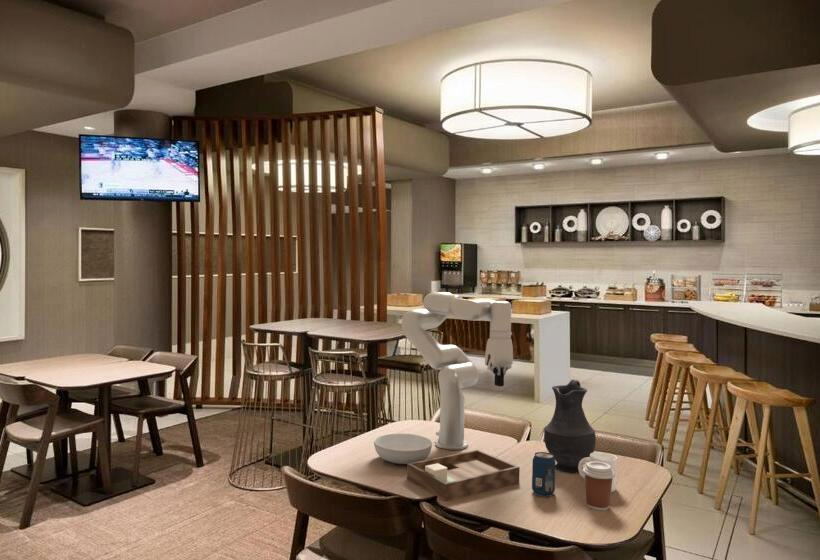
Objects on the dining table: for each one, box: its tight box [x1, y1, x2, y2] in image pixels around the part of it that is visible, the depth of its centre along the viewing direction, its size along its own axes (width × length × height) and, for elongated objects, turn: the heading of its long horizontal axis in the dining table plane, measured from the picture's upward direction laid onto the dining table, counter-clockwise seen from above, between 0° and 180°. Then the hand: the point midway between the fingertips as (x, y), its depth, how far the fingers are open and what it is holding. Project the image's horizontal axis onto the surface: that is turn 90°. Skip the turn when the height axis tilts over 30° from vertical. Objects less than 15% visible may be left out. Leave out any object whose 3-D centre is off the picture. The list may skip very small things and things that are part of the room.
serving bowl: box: [373, 432, 433, 465], centre depth 207 cm, size 21×21×7 cm
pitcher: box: [543, 379, 597, 474], centre depth 202 cm, size 17×21×30 cm
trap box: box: [406, 449, 520, 502], centre depth 187 cm, size 30×21×5 cm
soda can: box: [531, 451, 556, 498], centre depth 178 cm, size 7×7×12 cm
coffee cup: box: [583, 461, 615, 511], centre depth 169 cm, size 9×9×12 cm
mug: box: [578, 451, 618, 493], centre depth 184 cm, size 12×8×10 cm
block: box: [425, 463, 447, 481], centre depth 181 cm, size 5×5×4 cm
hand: (499, 385), depth 209 cm, fingers closed
